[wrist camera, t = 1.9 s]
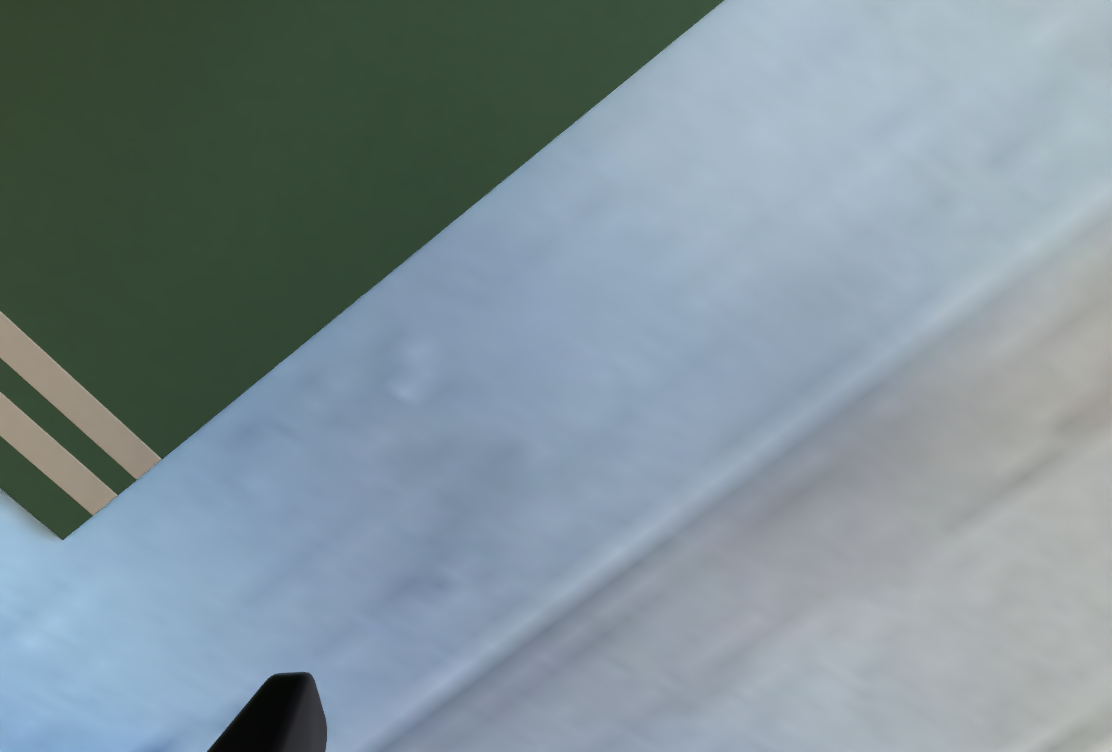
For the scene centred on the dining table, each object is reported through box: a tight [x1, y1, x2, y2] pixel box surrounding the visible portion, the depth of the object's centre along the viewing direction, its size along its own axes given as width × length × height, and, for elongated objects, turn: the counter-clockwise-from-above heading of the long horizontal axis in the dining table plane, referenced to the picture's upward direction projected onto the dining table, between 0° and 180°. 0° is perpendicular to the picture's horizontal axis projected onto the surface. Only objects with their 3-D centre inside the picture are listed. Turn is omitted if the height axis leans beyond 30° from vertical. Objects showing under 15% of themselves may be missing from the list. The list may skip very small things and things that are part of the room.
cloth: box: [0, 0, 723, 540], centre depth 16 cm, size 20×12×1 cm, turn 128°
